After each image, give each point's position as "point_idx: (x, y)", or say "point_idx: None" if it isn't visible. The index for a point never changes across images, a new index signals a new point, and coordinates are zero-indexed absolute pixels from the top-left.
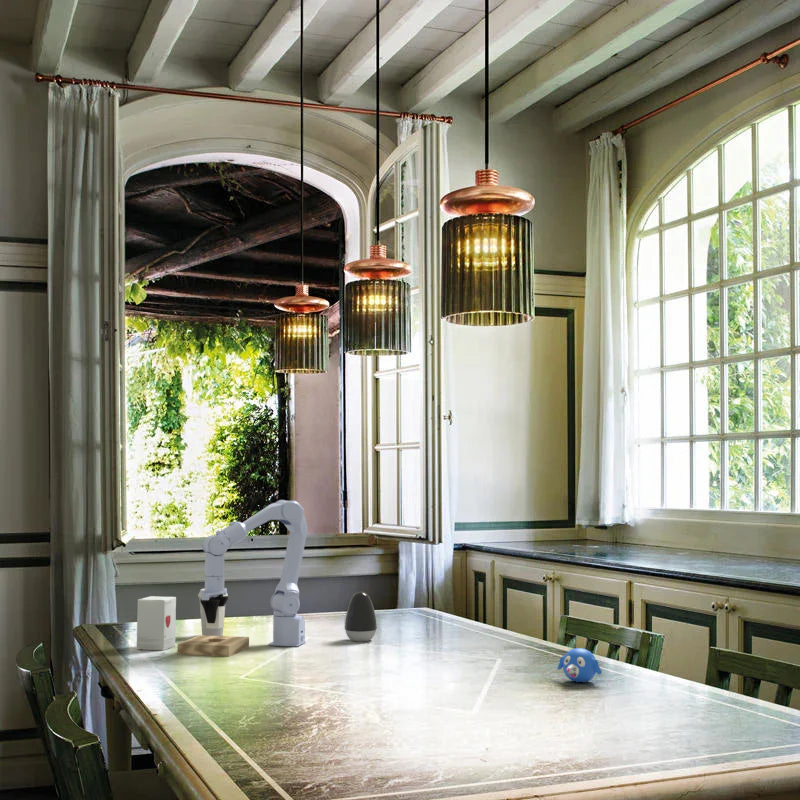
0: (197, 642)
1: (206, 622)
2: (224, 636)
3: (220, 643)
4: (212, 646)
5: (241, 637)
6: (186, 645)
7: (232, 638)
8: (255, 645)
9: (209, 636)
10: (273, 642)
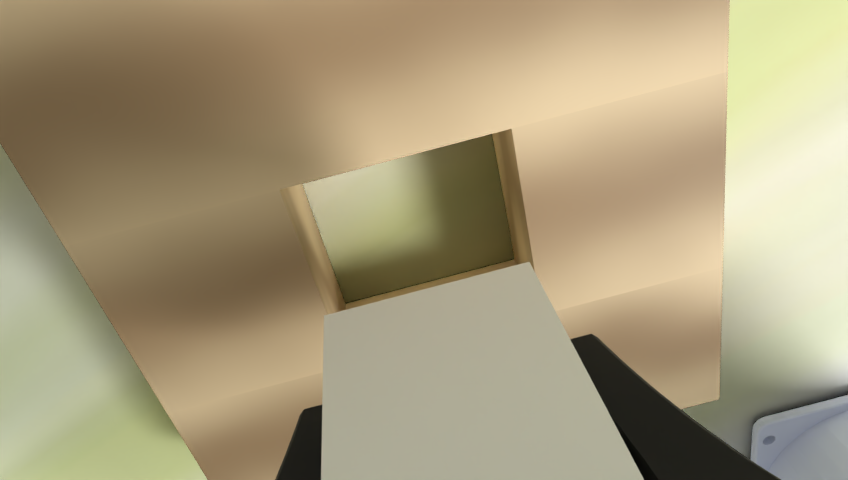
0: (199, 190)
1: (327, 377)
2: (704, 192)
3: (293, 414)
4: (172, 405)
5: (679, 365)
6: (13, 148)
7: (601, 335)
8: (763, 332)
9: (661, 28)
10: (806, 435)
